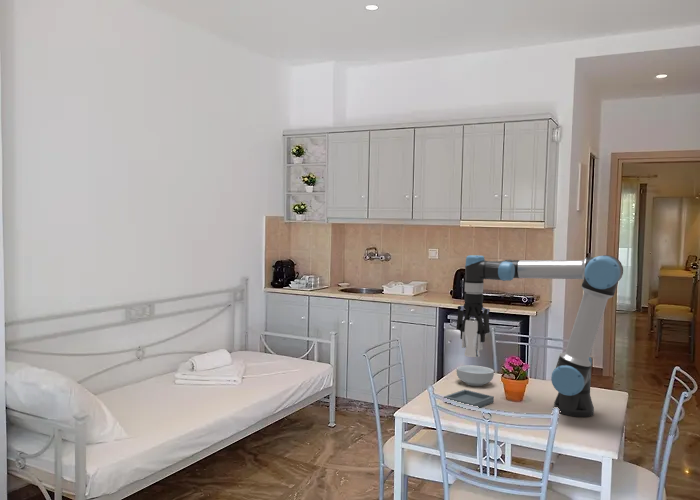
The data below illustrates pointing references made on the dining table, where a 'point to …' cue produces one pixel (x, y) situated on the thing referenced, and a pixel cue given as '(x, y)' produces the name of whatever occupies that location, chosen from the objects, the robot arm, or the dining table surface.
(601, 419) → the dining table surface
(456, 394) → the tray
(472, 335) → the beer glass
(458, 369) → the cereal bowl
